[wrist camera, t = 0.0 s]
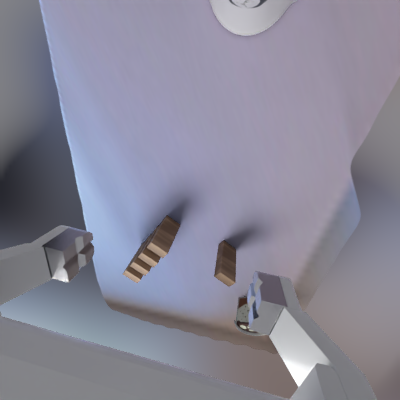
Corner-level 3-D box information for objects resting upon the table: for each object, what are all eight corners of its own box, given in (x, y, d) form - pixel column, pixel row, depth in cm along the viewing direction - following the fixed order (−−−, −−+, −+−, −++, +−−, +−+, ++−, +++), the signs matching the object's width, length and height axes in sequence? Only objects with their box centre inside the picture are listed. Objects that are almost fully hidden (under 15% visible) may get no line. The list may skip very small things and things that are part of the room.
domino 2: (144, 241, 65) (126, 270, 54) (156, 250, 66) (140, 279, 55) (140, 245, 66) (122, 274, 56) (152, 253, 67) (137, 283, 56)
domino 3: (158, 225, 60) (141, 252, 50) (171, 234, 61) (157, 263, 50) (155, 229, 61) (137, 257, 51) (167, 238, 62) (153, 267, 52)
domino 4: (167, 215, 57) (151, 242, 47) (180, 224, 58) (167, 253, 48) (163, 219, 59) (146, 247, 48) (176, 229, 59) (162, 258, 49)
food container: (239, 308, 73) (239, 337, 64) (234, 297, 70) (233, 326, 62) (273, 305, 69) (278, 336, 60) (269, 294, 66) (273, 325, 58)
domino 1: (151, 233, 62) (133, 261, 52) (163, 242, 63) (148, 271, 53) (147, 237, 63) (129, 266, 53) (160, 246, 64) (144, 275, 54)
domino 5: (223, 240, 58) (220, 272, 48) (236, 249, 59) (235, 282, 49) (218, 244, 59) (214, 276, 49) (230, 253, 60) (228, 286, 50)
